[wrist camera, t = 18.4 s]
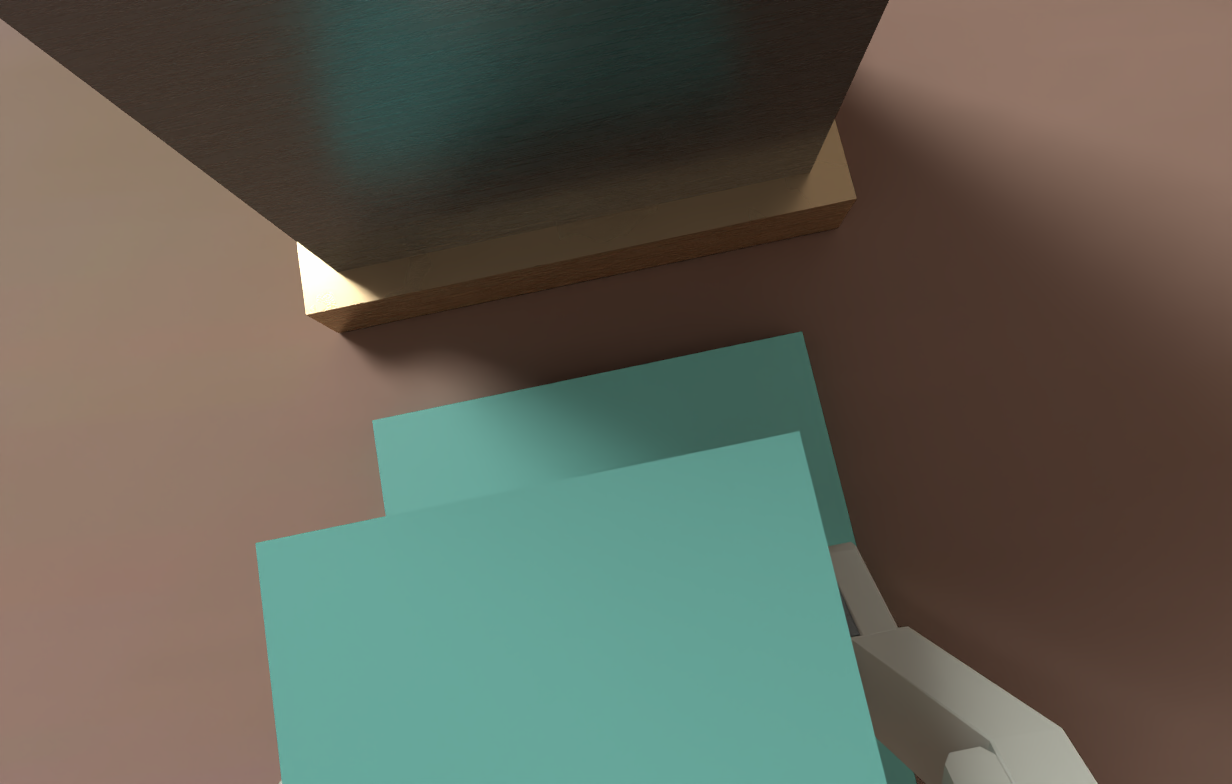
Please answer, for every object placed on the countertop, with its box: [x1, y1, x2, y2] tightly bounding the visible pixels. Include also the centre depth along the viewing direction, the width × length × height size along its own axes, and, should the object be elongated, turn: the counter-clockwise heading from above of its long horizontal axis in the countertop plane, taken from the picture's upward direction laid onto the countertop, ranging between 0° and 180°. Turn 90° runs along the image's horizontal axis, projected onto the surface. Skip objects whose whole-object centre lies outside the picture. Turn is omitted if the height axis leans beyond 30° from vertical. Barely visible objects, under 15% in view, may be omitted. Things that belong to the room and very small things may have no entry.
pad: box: [372, 331, 917, 784], centre depth 19 cm, size 12×12×1 cm
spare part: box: [256, 431, 887, 784], centre depth 12 cm, size 5×5×12 cm
